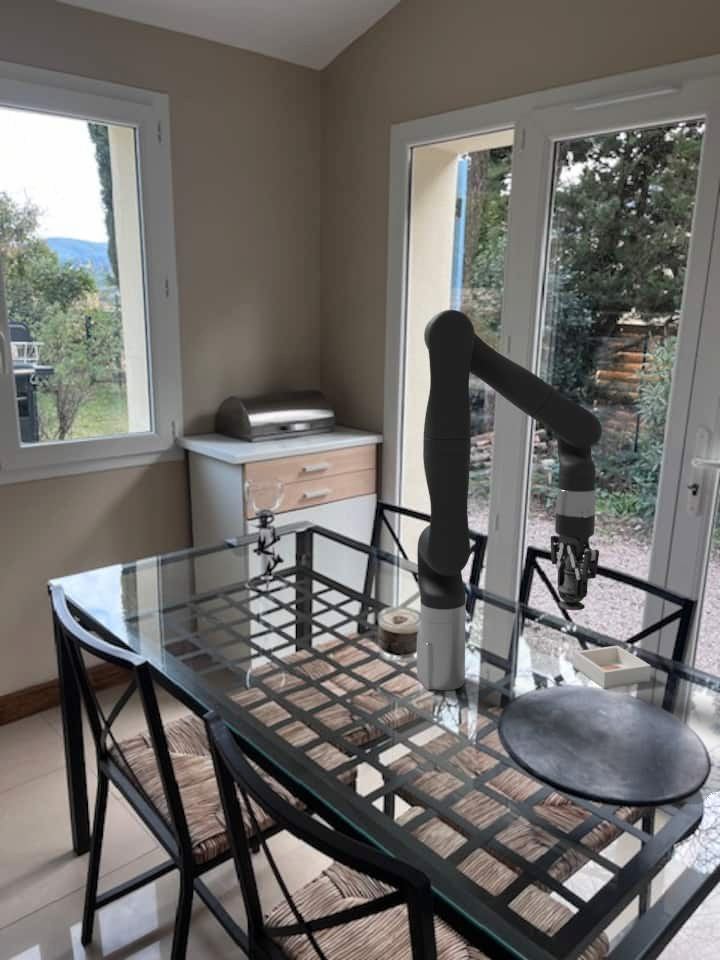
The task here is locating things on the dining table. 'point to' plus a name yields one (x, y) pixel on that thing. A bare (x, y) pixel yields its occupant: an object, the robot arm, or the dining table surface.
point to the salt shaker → (569, 589)
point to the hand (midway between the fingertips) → (571, 591)
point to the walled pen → (611, 666)
